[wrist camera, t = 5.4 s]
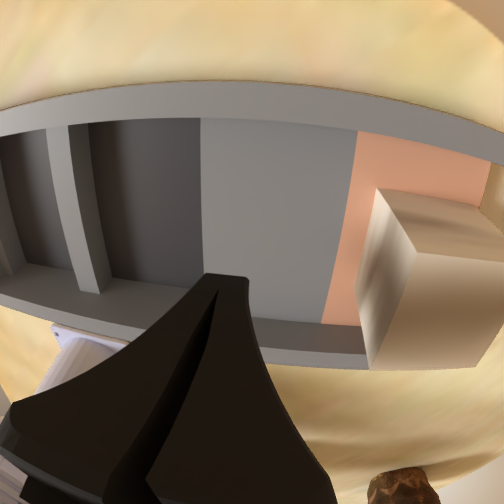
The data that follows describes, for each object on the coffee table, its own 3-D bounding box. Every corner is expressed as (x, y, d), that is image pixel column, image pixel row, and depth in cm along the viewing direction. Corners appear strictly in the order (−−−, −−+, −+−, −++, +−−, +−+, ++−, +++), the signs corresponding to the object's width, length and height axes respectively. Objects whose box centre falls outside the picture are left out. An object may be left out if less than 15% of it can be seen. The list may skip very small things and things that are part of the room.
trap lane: (413, 320, 18) (430, 369, 14) (16, 270, 20) (-13, 300, 17) (476, 122, 11) (524, 142, 8) (-20, 116, 14) (-63, 134, 10)
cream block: (441, 293, 14) (475, 367, 10) (353, 287, 15) (369, 370, 10) (473, 205, 12) (533, 266, 7) (376, 187, 12) (417, 252, 8)
